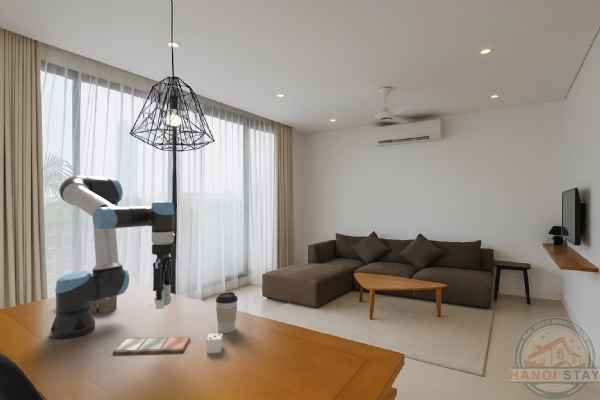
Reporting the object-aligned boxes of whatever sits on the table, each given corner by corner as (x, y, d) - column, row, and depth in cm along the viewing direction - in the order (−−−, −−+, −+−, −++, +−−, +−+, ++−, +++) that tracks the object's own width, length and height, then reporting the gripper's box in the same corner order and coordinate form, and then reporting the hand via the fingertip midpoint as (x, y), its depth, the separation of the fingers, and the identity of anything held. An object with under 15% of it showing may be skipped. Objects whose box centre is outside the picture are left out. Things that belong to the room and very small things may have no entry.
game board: (112, 354, 115) (112, 351, 115) (126, 340, 126) (126, 337, 126) (182, 352, 117) (182, 349, 117) (190, 339, 128) (190, 336, 128)
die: (206, 353, 117) (206, 339, 117) (208, 347, 122) (209, 333, 122) (220, 353, 118) (220, 339, 118) (222, 346, 123) (222, 333, 123)
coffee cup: (226, 335, 132) (226, 298, 132) (210, 330, 137) (211, 294, 136) (241, 328, 139) (242, 293, 139) (226, 323, 144) (226, 289, 144)
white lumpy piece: (175, 304, 123) (175, 283, 123) (159, 309, 117) (160, 287, 117) (165, 302, 125) (165, 281, 125) (150, 307, 119) (150, 285, 120)
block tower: (119, 311, 161) (73, 303, 169) (119, 294, 160) (74, 286, 168) (105, 316, 153) (58, 307, 161) (106, 298, 153) (58, 290, 161)
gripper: (164, 246, 112) (164, 314, 112) (180, 239, 131) (180, 297, 131) (142, 246, 111) (142, 314, 112) (161, 239, 130) (161, 297, 130)
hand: (163, 305), depth 121 cm, fingers closed on white lumpy piece, 6 cm apart
